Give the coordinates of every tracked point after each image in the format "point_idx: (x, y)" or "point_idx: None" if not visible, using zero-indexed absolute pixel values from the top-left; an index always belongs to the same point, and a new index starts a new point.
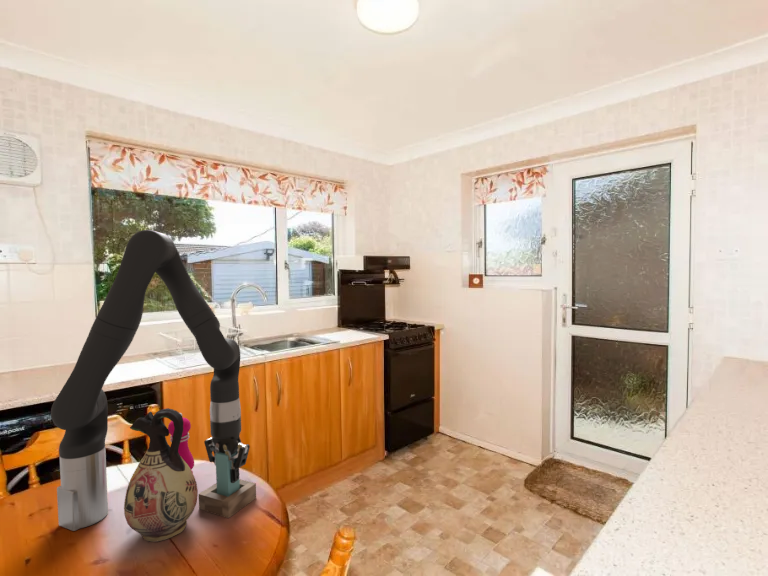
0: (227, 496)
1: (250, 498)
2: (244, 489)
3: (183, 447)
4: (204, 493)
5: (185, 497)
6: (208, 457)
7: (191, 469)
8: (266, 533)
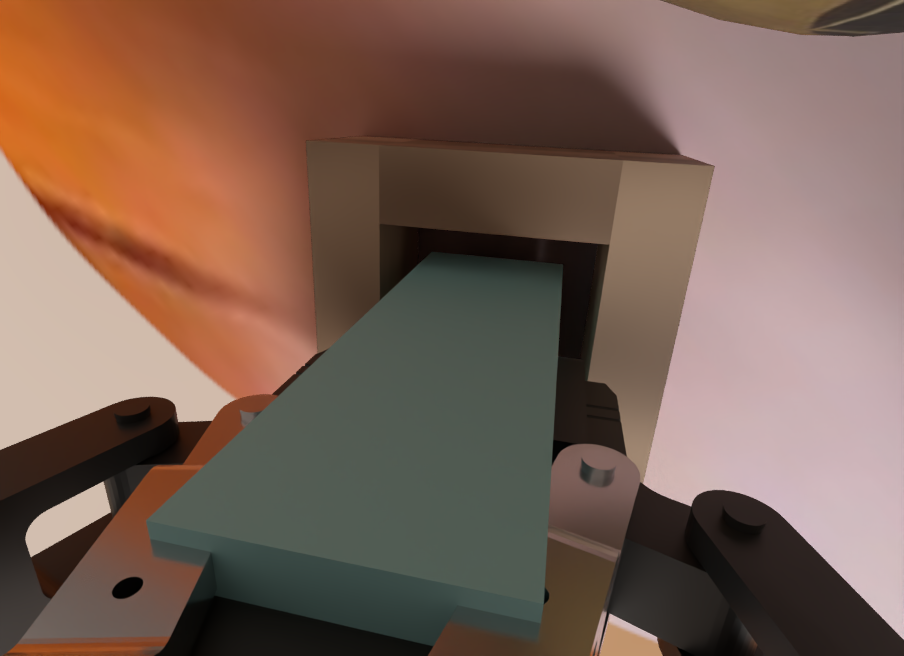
0: (435, 263)
1: None
2: None
3: None
4: (653, 198)
5: None
6: (832, 568)
7: None
8: (35, 85)
